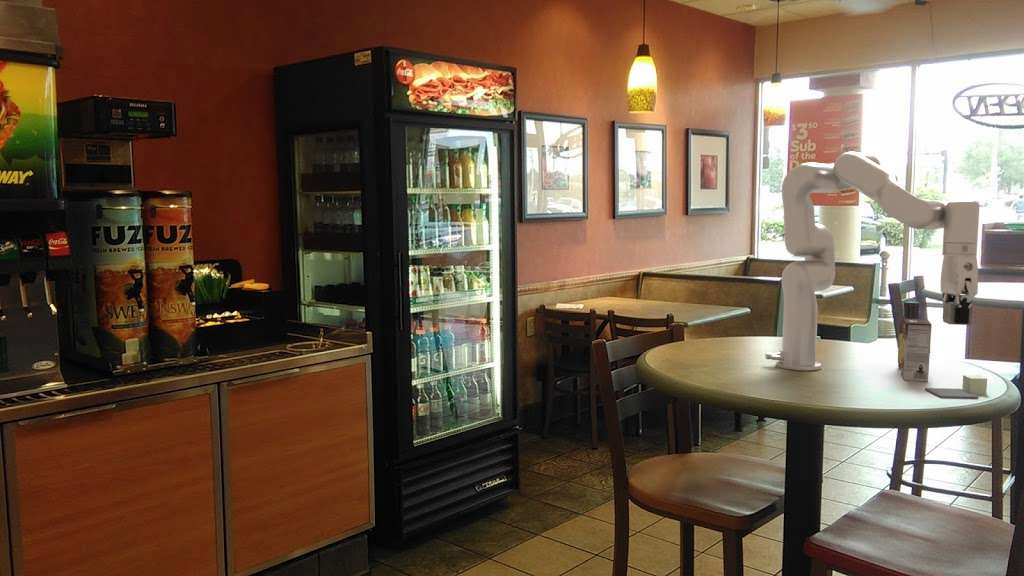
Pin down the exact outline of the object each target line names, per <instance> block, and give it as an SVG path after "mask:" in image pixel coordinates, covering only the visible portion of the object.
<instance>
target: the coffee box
mask: <svg viewBox="0 0 1024 576" xmlns="http://www.w3.org/2000/svg"><path fill="white" fill-rule="evenodd" d="M902 320H903V339H902V358H901V369H900V375H901V377H902V379H903V380H904V381H910V382H911V381H914V382H927V383H928V382H929V375H930V374H929V371H930V370H929V369H930V355H931V337H932V325H933V324H932V323H931V322H930V321H929V319H920V318H919V319H904V318H903V319H902Z"/></svg>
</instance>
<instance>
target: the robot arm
mask: <svg viewBox="0 0 1024 576" xmlns="http://www.w3.org/2000/svg"><path fill="white" fill-rule="evenodd" d="M848 189H849V190H850V189H855V190H856V191H858V192H859V193H861V194H862V195H864V196H866V197H868V199H871V200H873V201H874V202H875V203H876V205H877V206H878V207H879V208H880V209H881V210H882V211H883V213H885V214H887V215H888V216H890V217H892V218H893V219H895V220H896V221H898V222H899V223H902V224H903V225H905V226H907V227H908V228H911V229H913V230H938V229H939V230H940V229H943V233H942V235H943V237H942V254H941V256H943V259H942V264H941V265H942V266H941V273H940V292H941V294H942V295H941V296H942V299H943V300H942V304H943V306H942V308H943V309H942V316H943V315H944V302H954V303H957V307H955V321H954V322H955V323H956V324H968V323H969V310H970V307H971V305H972V302H973V300H974V298H975V296H977V295H978V292H979V271H978V270H979V269H978V268H979V267H978V261H977V260H978V259H977V255H978V239H979V237H978V236H979V224H980V223H979V222H980V221H979V220H980V205H979V202H978V201H976V200H966V199H965V200H962V199H960V200H957V199H956V200H950V201H946V200H941V199H939V200H938V199H926V198H925V199H923V198H920V197H919V196H916V195H914V194H913V193H911V192H909V191H907V190H906V189H904V188H903V187H902V186H901V185H900V184H898V177H897V175H896V173H894V172H893V171H890V170H889V169H887V168H885V167H883V166H881V162H880V161H879V159H878V158H877V157H876V156H875V155H873V154H871V153H867V152H858V151H848V152H844V153H842V154H840V155H839V156H838V157H837V158H836V159H835V161H834V163H820V162H805V163H801V164H798V165H796V166H794V167H793V168H791V169H790V170H789V171H788V172H787V174H786V175H785V177H784V179H783V182H782V185H781V197H782V198H781V199H782V205H783V228H784V230H783V231H784V245H785V249H786V251H787V252H788V253H789V254H790V255H792V256H797V257H804V260H797V261H793V262H790V263H789V264H787V266H785V268H784V269H783V271H782V274H781V286H782V294H783V295H782V296H783V317H782V319H783V320H782V321H783V322H782V344H781V347H782V348H781V349H779V350H778V352H777V351H776V353H774V352H765V354H764V355H765V356H764V357H765V360H772V361H776V362H775V365H776V366H777V367H778V368H781V369H786V370H794V371H817V370H820V369H822V364H821V363H820V362H817V361H816V360H817V338H818V337H817V336H818V319H819V317H818V316H819V315H818V314H819V313H818V312H819V311H818V310H819V306H818V300H817V296H816V292H817V293H818V292H824V291H827V290H828V289H830V288H831V286H832V285H833V284H834V281H835V277H836V259H835V258H836V257H835V242H834V237H833V234H832V232H831V231H830V229H829V228H828V227H827V226H825V225H823V224H820V223H816V219H815V205H814V204H813V200H812V199H811V194H812V193H818V194H832V193H837V192H841V191H845V190H848Z"/></svg>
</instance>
